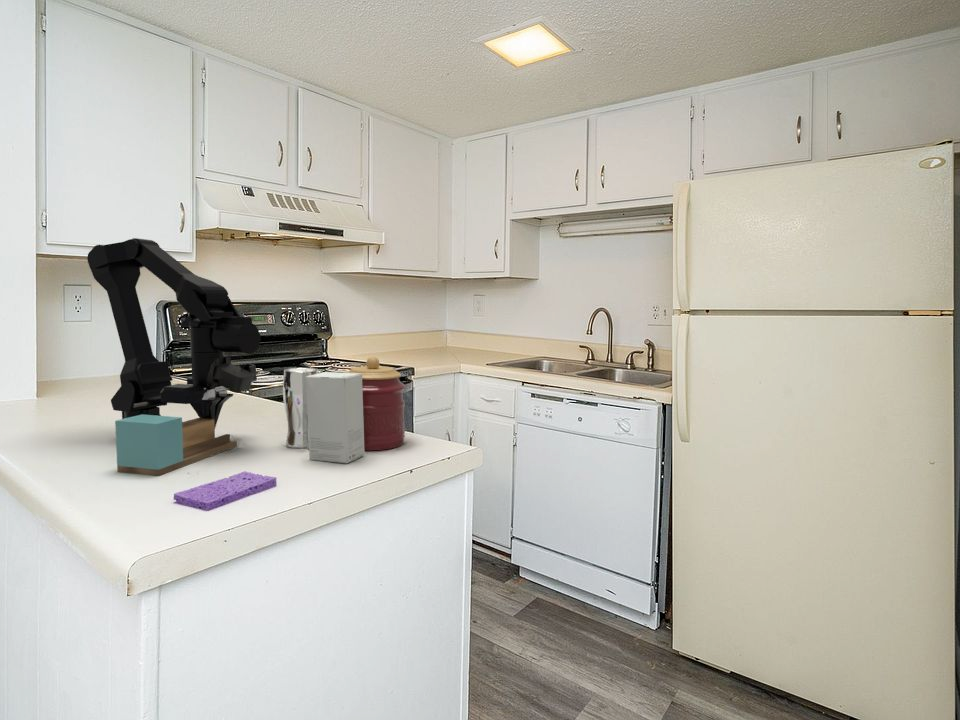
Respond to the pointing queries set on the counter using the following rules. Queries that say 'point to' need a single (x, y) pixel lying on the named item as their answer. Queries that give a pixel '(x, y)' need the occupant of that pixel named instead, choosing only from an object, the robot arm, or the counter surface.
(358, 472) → the counter surface
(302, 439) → the silver tall cylinder
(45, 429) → the counter surface
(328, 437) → the skincare box
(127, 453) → the end cap
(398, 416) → the canister
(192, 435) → the wooden block
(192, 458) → the board
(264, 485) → the sponges
